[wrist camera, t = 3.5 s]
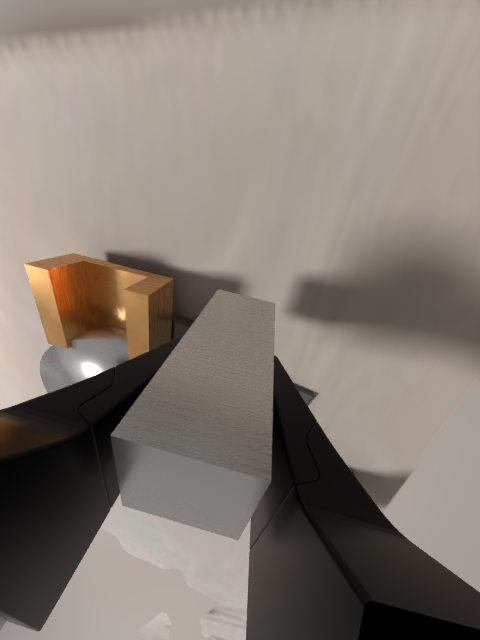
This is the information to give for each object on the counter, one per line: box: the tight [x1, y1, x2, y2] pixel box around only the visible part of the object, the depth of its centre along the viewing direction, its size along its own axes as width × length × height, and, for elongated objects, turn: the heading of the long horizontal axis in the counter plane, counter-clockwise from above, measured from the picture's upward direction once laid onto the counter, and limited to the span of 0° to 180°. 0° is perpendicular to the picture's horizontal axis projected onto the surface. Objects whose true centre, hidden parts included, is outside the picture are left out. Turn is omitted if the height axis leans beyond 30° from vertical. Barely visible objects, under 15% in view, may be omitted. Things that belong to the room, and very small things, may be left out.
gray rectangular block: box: [110, 289, 275, 540], centre depth 8 cm, size 3×3×8 cm
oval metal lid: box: [24, 253, 174, 393], centre depth 16 cm, size 16×11×4 cm
